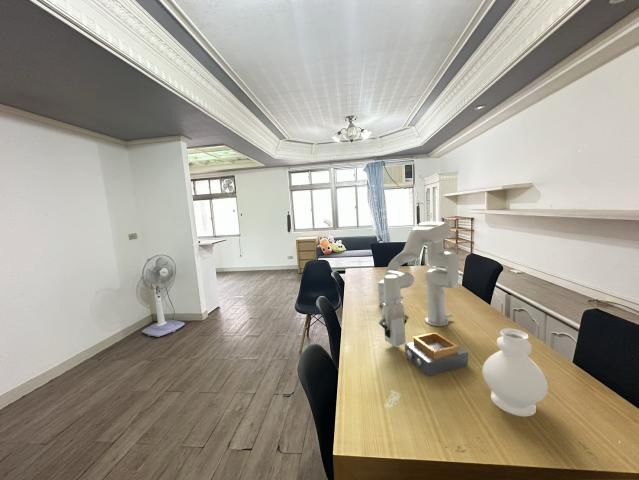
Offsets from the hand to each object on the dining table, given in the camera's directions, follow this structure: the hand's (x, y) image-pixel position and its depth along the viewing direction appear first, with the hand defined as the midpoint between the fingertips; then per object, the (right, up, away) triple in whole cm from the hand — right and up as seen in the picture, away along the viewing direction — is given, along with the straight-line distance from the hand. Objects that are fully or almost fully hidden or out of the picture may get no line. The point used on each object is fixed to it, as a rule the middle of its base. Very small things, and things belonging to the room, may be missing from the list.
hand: (394, 334), depth 130 cm
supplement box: (+11, +1, +58) cm, 59 cm away
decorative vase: (+30, -10, -39) cm, 50 cm away
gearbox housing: (+15, -7, -12) cm, 20 cm away
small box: (0, -4, +1) cm, 4 cm away
